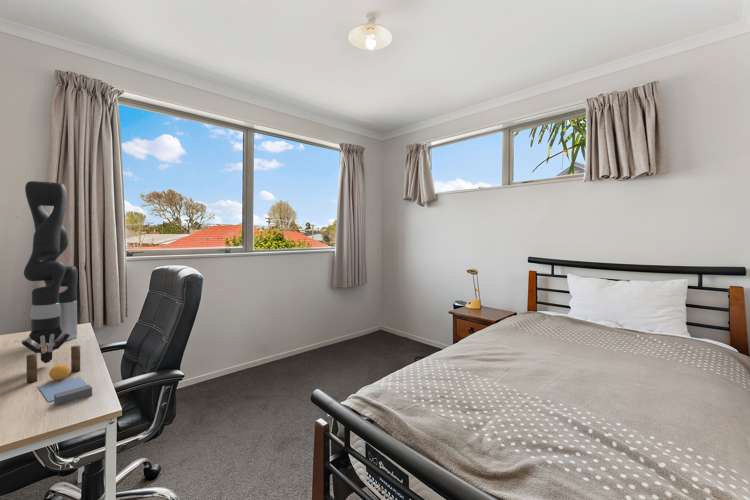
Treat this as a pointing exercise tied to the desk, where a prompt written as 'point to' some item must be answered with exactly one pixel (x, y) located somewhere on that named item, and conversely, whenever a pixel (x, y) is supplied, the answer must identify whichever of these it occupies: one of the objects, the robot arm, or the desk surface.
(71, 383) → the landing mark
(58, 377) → the ball
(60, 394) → the stopper wall
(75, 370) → the post
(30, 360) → the post
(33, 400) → the desk surface
